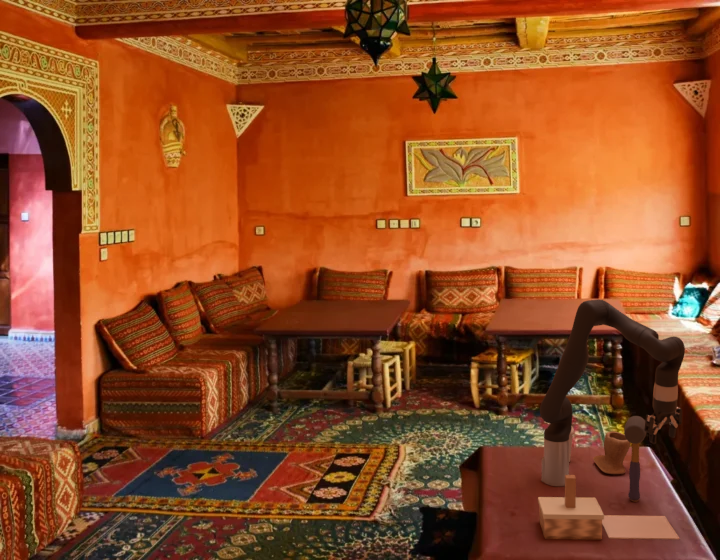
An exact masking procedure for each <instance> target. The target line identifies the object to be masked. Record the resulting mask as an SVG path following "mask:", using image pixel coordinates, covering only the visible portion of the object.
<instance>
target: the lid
mask: <svg viewBox="0 0 720 560" xmlns="http://www.w3.org/2000/svg"><path fill="white" fill-rule="evenodd" d="M576 488H577V478H576V475H575V474H569V475H565V486H564V497H563V496H562V497H561V496H558V497H557V496H554V497H553V496H538V497H537V503H538V507H539V510H540V509H541V512H542V515H543V519H602V520H604V515H605V514H604V511H603V510H602V507H601V506H600V504H599V502H598V500H597V498H596V497H578V496H577V491H576V490H577V489H576Z"/></svg>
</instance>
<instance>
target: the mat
mask: <svg viewBox="0 0 720 560" xmlns="http://www.w3.org/2000/svg"><path fill="white" fill-rule="evenodd" d="M602 528H603V529H604V531H605V533H606V536H607V538H608V539H618V540H619V539H623V540H624V539H625V540H627V539H628V540H680V537H679V535H678V534H677V533H676V531H675V529H674V528H673V527H672V525H671V524H670V522H669V520H668V519H667V517H666V516H665V515H616V514H615V515H614V514H613V515H610V514H608V515H605V514H604V520H602Z"/></svg>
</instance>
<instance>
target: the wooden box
mask: <svg viewBox="0 0 720 560" xmlns="http://www.w3.org/2000/svg"><path fill="white" fill-rule="evenodd" d="M538 520H539V524H540V527H541V531H542V534H543V537H544V539H545V540H591V541H592V540H595V541H596V540H603V536H602V535H603V525H602V519H543V515H542V512H541V509H540V508H539V519H538Z"/></svg>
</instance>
